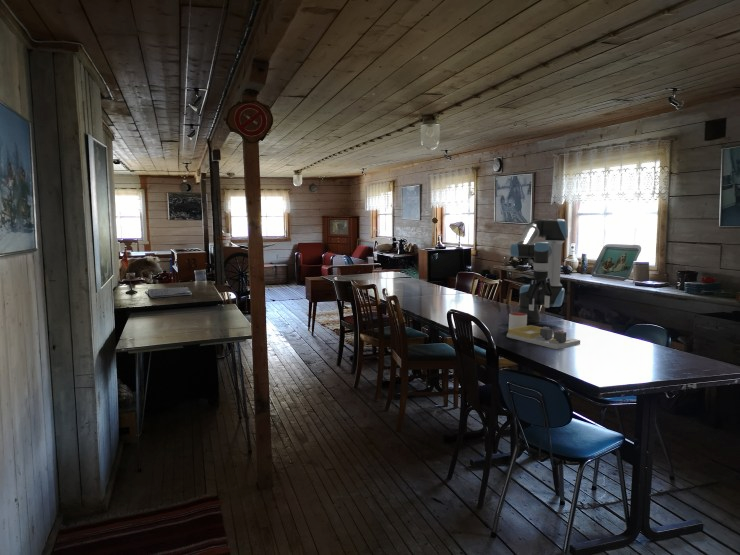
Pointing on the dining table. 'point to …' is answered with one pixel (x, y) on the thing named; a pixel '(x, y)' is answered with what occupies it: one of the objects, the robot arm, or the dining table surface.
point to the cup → (517, 320)
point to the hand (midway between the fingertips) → (539, 308)
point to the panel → (546, 342)
